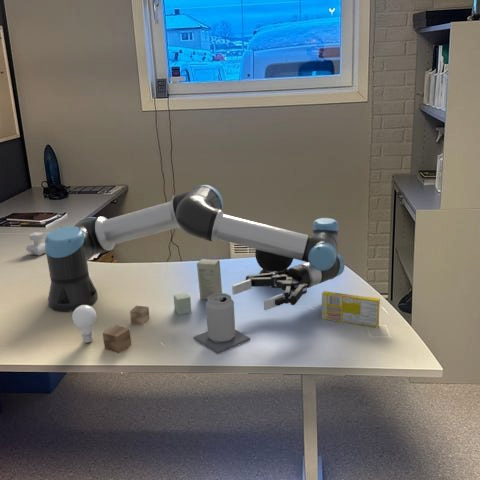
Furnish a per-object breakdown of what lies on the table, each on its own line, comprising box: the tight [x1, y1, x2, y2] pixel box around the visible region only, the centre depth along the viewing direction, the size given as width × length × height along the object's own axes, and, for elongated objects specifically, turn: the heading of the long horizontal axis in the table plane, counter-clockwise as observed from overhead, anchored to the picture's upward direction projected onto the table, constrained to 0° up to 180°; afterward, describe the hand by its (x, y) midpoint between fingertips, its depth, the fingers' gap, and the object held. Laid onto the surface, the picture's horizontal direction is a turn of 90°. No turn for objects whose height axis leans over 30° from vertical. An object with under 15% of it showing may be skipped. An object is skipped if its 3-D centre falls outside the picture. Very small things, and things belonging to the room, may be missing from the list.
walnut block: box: [102, 324, 132, 354], centre depth 151 cm, size 5×5×5 cm
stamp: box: [25, 231, 46, 256], centre depth 222 cm, size 9×7×8 cm
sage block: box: [173, 291, 192, 316], centre depth 170 cm, size 4×4×5 cm
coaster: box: [193, 329, 251, 355], centre depth 153 cm, size 11×11×1 cm
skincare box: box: [196, 258, 223, 300], centre depth 177 cm, size 6×4×12 cm
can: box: [205, 292, 236, 343], centre depth 151 cm, size 8×8×12 cm
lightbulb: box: [71, 305, 97, 344], centre depth 152 cm, size 6×6×11 cm
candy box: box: [321, 290, 381, 329], centre depth 159 cm, size 16×2×8 cm, turn 66°
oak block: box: [129, 305, 150, 326], centre depth 164 cm, size 4×4×4 cm
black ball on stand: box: [254, 249, 294, 284], centre depth 190 cm, size 13×13×15 cm
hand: (248, 297), depth 156 cm, fingers open, 13 cm apart
